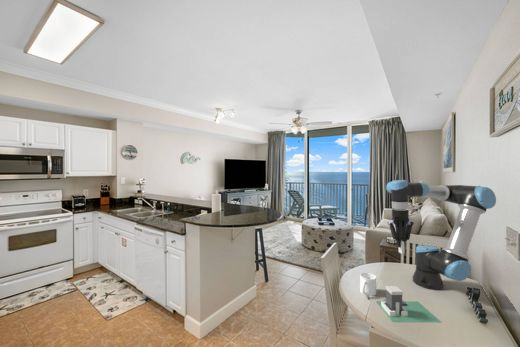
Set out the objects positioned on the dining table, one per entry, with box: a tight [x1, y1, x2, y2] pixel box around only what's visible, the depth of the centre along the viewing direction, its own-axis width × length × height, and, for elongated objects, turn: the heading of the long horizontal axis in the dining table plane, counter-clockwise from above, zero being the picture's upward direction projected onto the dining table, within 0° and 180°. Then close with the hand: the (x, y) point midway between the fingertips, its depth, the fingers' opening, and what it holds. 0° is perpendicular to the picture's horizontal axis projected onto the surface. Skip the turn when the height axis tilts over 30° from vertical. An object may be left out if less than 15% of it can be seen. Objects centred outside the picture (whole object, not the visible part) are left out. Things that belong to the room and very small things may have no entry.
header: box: [380, 300, 408, 316], centre depth 109 cm, size 8×8×2 cm
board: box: [375, 298, 442, 323], centre depth 109 cm, size 22×16×3 cm
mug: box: [359, 272, 377, 298], centre depth 125 cm, size 12×8×10 cm
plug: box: [385, 285, 404, 315], centre depth 109 cm, size 5×6×11 cm
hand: (401, 252), depth 118 cm, fingers closed
